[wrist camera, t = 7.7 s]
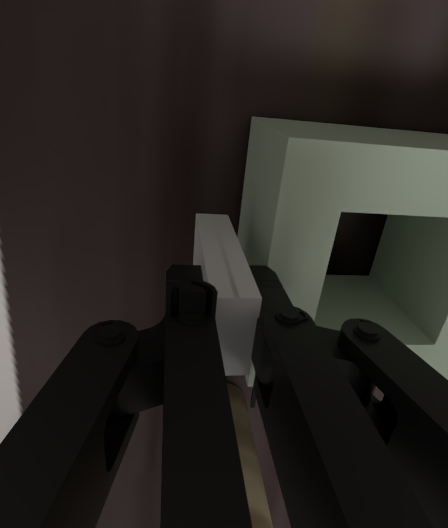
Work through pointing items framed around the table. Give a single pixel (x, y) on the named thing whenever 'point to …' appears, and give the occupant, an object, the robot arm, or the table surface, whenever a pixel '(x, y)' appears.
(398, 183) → the sage green block
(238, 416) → the birch dowel
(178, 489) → the robot arm
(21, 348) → the table surface
